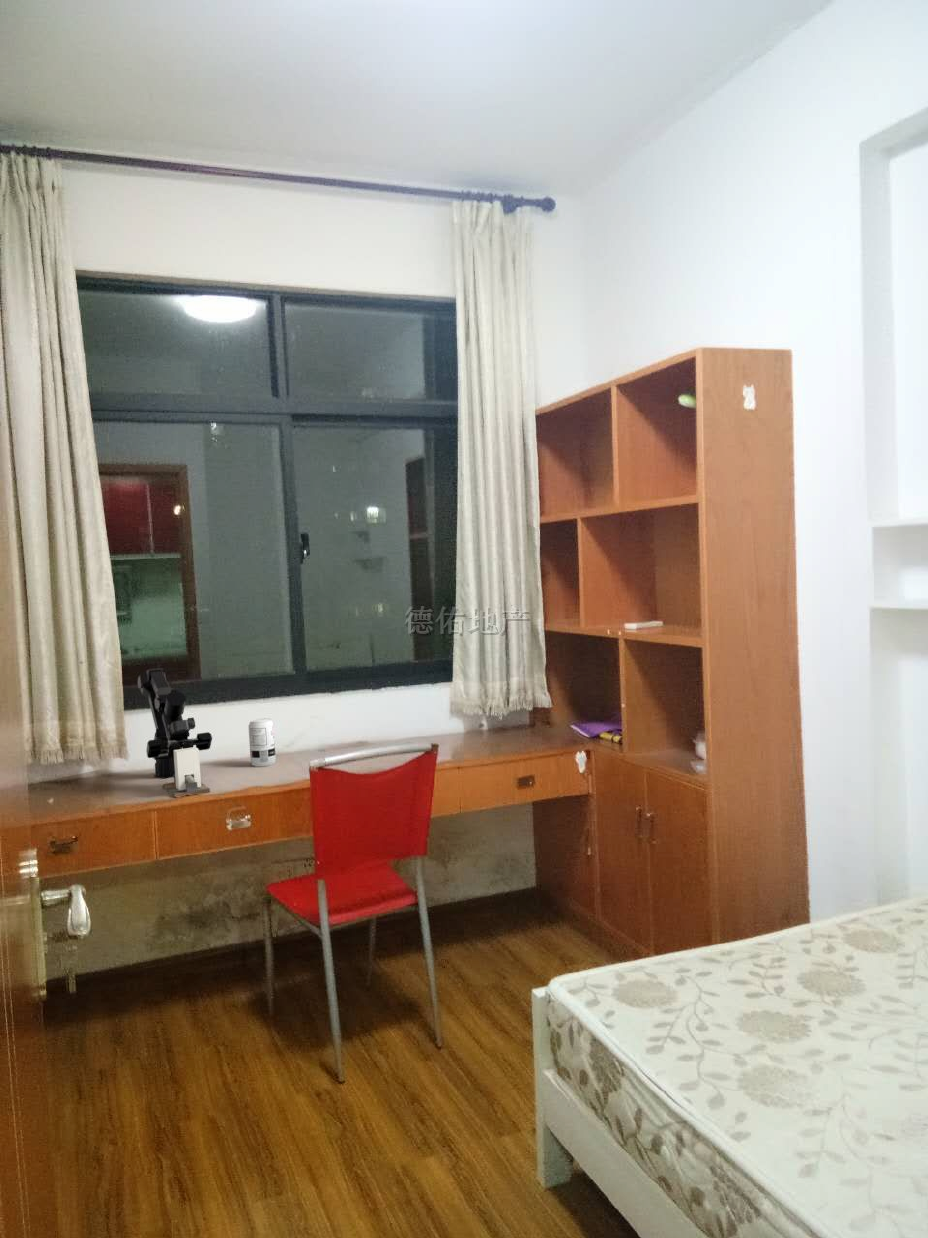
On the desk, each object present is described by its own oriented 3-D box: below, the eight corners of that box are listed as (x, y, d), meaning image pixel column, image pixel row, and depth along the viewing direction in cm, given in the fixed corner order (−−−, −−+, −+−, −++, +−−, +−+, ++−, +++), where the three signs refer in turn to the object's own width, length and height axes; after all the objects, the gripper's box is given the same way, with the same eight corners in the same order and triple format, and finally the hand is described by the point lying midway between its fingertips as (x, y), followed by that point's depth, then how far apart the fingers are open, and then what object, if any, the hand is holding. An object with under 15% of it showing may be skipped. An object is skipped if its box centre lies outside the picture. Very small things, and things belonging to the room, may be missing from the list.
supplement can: (246, 765, 295) (243, 721, 294) (269, 760, 301) (266, 717, 300) (257, 768, 289) (254, 723, 288) (280, 763, 294) (277, 719, 294)
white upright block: (176, 788, 260) (173, 750, 260) (197, 784, 264) (195, 747, 263) (179, 790, 257) (176, 752, 256) (201, 786, 260) (198, 749, 260)
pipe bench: (162, 787, 269) (161, 770, 268) (195, 781, 274) (194, 765, 273) (175, 798, 254) (173, 780, 254) (209, 792, 259) (208, 774, 259)
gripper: (145, 713, 261) (155, 756, 252) (208, 706, 270) (220, 746, 262) (142, 736, 268) (152, 778, 259) (203, 728, 278) (215, 768, 269)
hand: (185, 767), depth 262 cm, fingers closed, pressing on white upright block
